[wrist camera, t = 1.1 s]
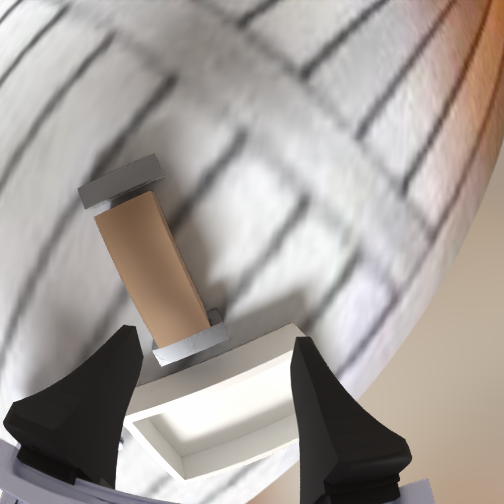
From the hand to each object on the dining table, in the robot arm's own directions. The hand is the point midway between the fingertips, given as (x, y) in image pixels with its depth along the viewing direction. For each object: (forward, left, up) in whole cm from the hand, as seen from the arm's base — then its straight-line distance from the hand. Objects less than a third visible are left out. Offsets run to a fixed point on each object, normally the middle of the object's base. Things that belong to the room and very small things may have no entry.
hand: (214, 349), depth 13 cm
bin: (-2, -13, -12) cm, 18 cm away
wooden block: (-2, +3, -12) cm, 13 cm away
